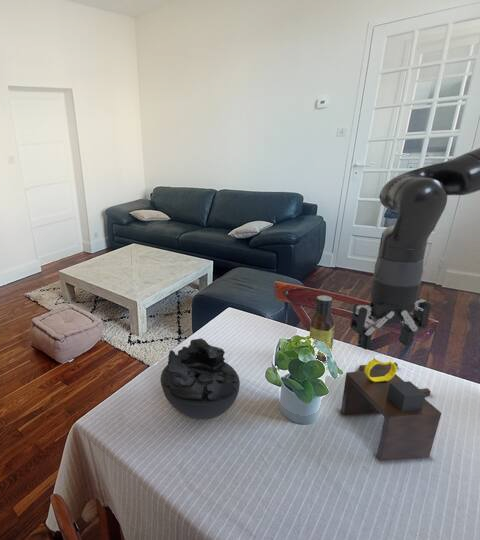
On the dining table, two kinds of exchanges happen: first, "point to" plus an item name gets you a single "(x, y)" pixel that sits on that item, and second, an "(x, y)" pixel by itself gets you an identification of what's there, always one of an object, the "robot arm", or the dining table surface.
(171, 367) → the bowl of black rocks
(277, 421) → the dining table surface
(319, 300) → the sauce bottle
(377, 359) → the watch
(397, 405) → the charcoal block
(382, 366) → the low rack
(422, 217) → the robot arm
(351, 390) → the high shelf
